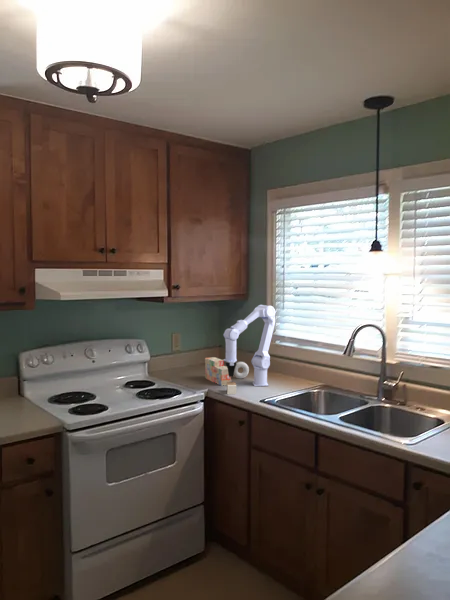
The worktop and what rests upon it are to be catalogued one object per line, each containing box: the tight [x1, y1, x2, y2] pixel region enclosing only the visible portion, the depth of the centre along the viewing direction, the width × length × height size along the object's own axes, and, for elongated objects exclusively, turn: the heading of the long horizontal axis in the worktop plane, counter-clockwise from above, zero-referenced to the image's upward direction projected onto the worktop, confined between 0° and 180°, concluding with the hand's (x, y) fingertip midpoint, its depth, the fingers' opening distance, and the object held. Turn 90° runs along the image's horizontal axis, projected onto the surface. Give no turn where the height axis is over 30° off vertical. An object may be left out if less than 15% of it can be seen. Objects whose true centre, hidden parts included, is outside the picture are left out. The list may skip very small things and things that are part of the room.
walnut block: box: [226, 381, 237, 395], centre depth 266 cm, size 4×4×8 cm
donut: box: [233, 361, 250, 380], centre depth 297 cm, size 10×4×10 cm, turn 101°
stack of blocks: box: [204, 356, 232, 387], centre depth 290 cm, size 21×6×12 cm, turn 27°
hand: (231, 376), depth 272 cm, fingers closed
